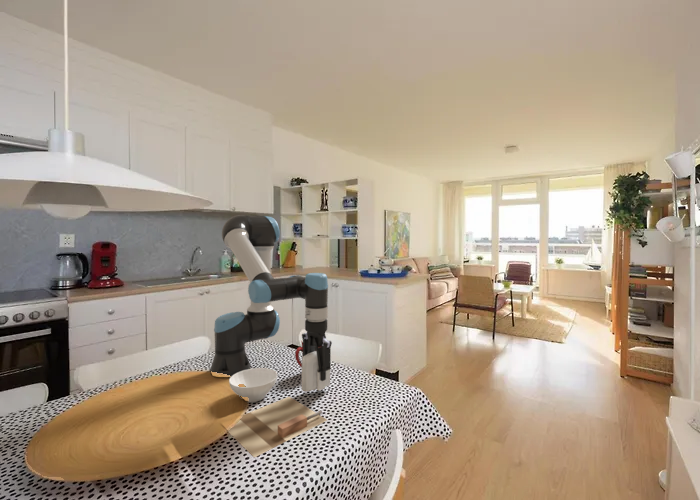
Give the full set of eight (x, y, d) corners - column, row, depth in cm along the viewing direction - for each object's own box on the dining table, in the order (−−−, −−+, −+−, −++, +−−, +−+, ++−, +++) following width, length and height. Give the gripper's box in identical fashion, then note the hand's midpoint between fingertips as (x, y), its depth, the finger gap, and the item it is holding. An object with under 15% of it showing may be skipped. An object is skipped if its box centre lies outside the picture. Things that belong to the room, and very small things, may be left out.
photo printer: (326, 381, 115) (326, 347, 114) (332, 385, 111) (332, 350, 111) (299, 388, 109) (299, 352, 109) (305, 393, 106) (305, 356, 105)
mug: (314, 366, 137) (314, 335, 137) (328, 372, 131) (327, 339, 130) (289, 375, 129) (288, 341, 128) (302, 382, 122) (302, 347, 122)
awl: (282, 438, 85) (282, 429, 85) (277, 434, 87) (277, 425, 87) (323, 417, 95) (323, 409, 95) (318, 414, 96) (318, 406, 96)
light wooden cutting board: (220, 429, 92) (220, 424, 92) (289, 401, 108) (289, 396, 108) (254, 463, 78) (254, 457, 77) (327, 425, 93) (327, 420, 93)
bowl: (284, 400, 108) (283, 380, 108) (234, 414, 100) (234, 391, 100) (269, 383, 122) (269, 364, 122) (225, 393, 114) (224, 373, 113)
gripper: (292, 315, 113) (291, 380, 114) (324, 326, 100) (324, 399, 101) (309, 312, 118) (309, 374, 119) (342, 322, 105) (341, 391, 106)
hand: (316, 386), depth 110 cm, fingers closed on photo printer, 5 cm apart
